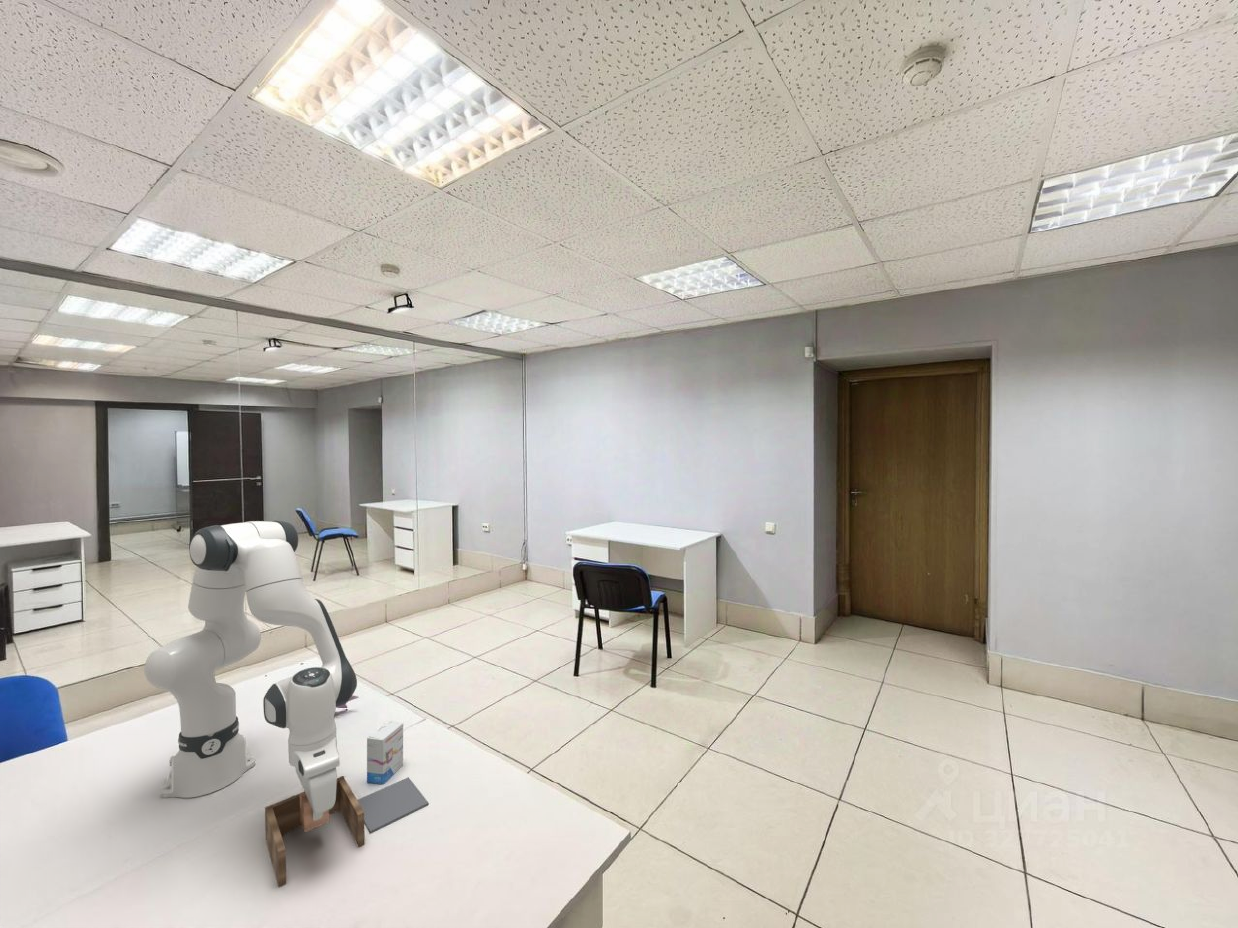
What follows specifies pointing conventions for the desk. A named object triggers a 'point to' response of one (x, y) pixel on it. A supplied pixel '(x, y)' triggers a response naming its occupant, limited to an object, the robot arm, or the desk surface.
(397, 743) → the ink box
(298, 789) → the desk surface
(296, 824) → the walnut cubby
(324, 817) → the terracotta block
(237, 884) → the desk surface
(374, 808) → the slate mat
